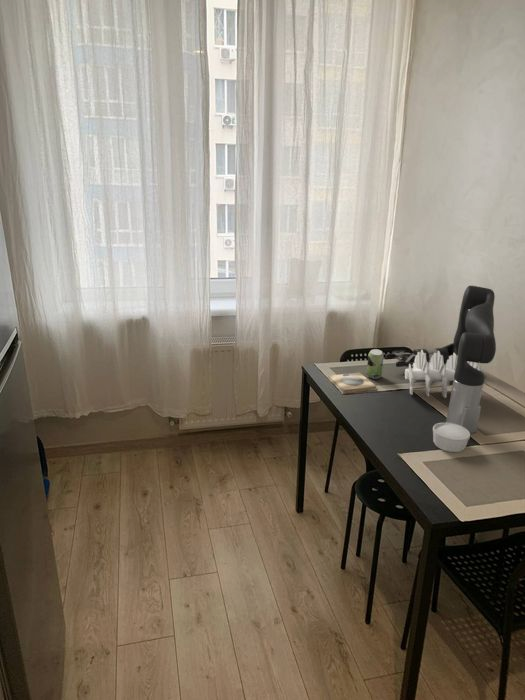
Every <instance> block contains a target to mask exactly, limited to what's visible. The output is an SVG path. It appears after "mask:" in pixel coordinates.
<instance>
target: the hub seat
mask: <svg viewBox="0 0 525 700" xmlns="http://www.w3.org/2000/svg"><path fill="white" fill-rule="evenodd" d="M328 380H329V381H330V382H331V383H332V384H333V385H334V386H335V387H336V388H337V389H338V390H339V391H341V393H343V394H348V393H349V392H350V393H358V392H357V391H359V392H366V390H368V391H376V390H377V386H376V384H375V383H373V382H372V381H371V380H369V378H367V377H366V376H364V375H363V374H362V373H361V372H353V373H341V374H332V375H331V374H330V375H328ZM375 389H376V390H375ZM350 393H349V394H350Z"/></svg>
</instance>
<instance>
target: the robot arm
mask: <svg viewBox="0 0 525 700" xmlns="http://www.w3.org/2000/svg"><path fill="white" fill-rule="evenodd" d="M495 297H496V296H495V292H494V291H493V289H491V288H488V287H482V286H477V285H468V286H467V287H466V288H465V290H464V293H463V296H462V301H461V304H460V309H459V316H458V323H457V327H456V330H455V334H454V337H453V343H450V344H448V345H444V346H442V347H435V348H434V347H433V348H430V347H429V348H428V347H427V348H419V349H417V348H415V349H413V350H412V351H411V352H406V350H402V349H401V350H392V352H391V353H386V354H385V357H384V358H385V360H396V362H395V367H396V368H401V367H402V368H403V367H405V368H409V364H411V368H413V363H415V362H414V360H415V357H416V355H417V352H421V350H423V353H426V360H427V362H430V360H431V357H432V355H434V353H438V351H439V352H440V354H441V355H443V361H444V365H446V363H447V360H448V359H449V356H451V355H453V353H455V354H456V356H457V355H458V356H457V364H456V370H455V375H454V380H453V381H452V386H451V393H450V398H449V404H448V409H447V414H446V421H445V423H453V424H457V425H460V426H462V427H464V428H466V429H467V430H468V431H469V432H470V434H474V433H477V430H478V425H479V420H480V414H481V410H482V406H481V405H480V403H481V398H482V394H483V393H482V392H483V387H484V384H485V379H486V378H485V377H486V375H485V374H484V373H483V372H482V371H481V370H480V371H479V370H477V369H475V368H474V367H472V366H471V365H469V364H468V363H467V361H469V362H476V363H478V364H490V363H491V362H492V361H493V360H494V358H495V355H496V352H497V342H496V337H495V333H494V332H495V331H494V329H495V328H494V326H495V320H494V319H495V318H494V316H495V315H494V305H495ZM430 363H431V362H430Z"/></svg>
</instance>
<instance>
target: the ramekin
mask: <svg viewBox="0 0 525 700" xmlns="http://www.w3.org/2000/svg"><path fill="white" fill-rule="evenodd" d="M432 436H433V437H432V441H433V443H434V445H435V446H436V447H437V448H439V449H440V450H443V451H445V452H449V453H460V452H462V451H464V450H465V448H466V447H467V445H468V441H469V440H470V438H471V433H470V432H469V431H468V430H467V429H466V428H464V427H462V426H460V425H457V424H453V423H446V422H438V423H435V424H434V425H433V426H432Z"/></svg>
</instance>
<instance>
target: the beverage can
mask: <svg viewBox="0 0 525 700" xmlns="http://www.w3.org/2000/svg"><path fill="white" fill-rule="evenodd" d="M384 358H385V357H384V353H383V351H382V350H380V349H377V348H374V349H371V350H370V351H369V352H368V355H367V364H366V376H367V377H368V378H369V377H370V378H369V379H372V378H373V379H374V380H377V379H379V378H381V377H382V371H383V363H384Z"/></svg>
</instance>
